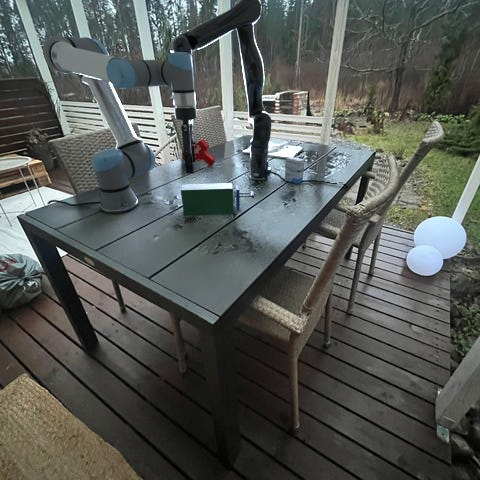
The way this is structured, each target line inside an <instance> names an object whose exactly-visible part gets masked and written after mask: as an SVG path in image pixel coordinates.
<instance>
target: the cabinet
mask: <svg viewBox="0 0 480 480" xmlns="http://www.w3.org/2000/svg"><path fill="white" fill-rule="evenodd" d="M180 195H181V196H180V197H181V205H182V211H183V216H197V215H198V216H200V215H201V216H202V215H227V214H230V215H231V214H232V215H233V214H234V187H233V183H232V182H223V183H222V182H218V183H189V184H188V183H187V184H185V183H184V184H182V185H181V188H180Z"/></svg>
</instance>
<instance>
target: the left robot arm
mask: <svg viewBox="0 0 480 480" xmlns="http://www.w3.org/2000/svg"><path fill="white" fill-rule="evenodd" d="M42 55H43V58H44V60H45V62H46V63H47V65H48V66H49V67H50V68H51V69H53V70H54V71H55V72H58V73H60V74H66V75H75V74H77V75H78V77H79V78H80V80H81V82H82V83H84V84H86V85H87V86H88V87H89V90H90V92H91V93H92V96H93V97H94V99H95V101H96V103H97V106H98V108H99V110H100V112H101V113H102V116H103V117H104V120H105V122H106V124H107V125H108V128H109V130H110V131H111V134H112V136H113V138H114V141H115V142H116V146H115V148H114V147H113V148H108V149H103V150H99V151H97V152H96V153H94V154H93V155H92V158H91V164H92V170H93V171H94V174H95V177H96V180H97V183H98V187H99V190H100V200H99V201H89V202H80V203H69V202H68V201H63V200H58V199H51V200H49V201H47V203H46V204H47V205H50V204H51V203H59V204H65V205H67V206H69V207H79V206H86V205H87V206H88V205H96V204H97V205H99V204H100V209H101V211H102V212H103V213H106V214H111V215H113V214H114V215H117V214H122V213H126V212H130V211H132V210H134V209H136V208H137V207H138V205H139V200H138V197H137V196H136V194H135V193H134V190H132V188H131V185H130V181H129V180H130V179H132V178H135V177H138V176H140V175H144V174H147V173H149V172H150V171H152V170H153V169H154V167H155V164H156V156H155V155H156V154H155V152H154V150H153V149H152V147H151V146H150V145H148V144H146V143H144V142H143V139H142V138H140V137H138V136H137V135H136V133H135V130H134V129H133V126H132V124H131V121H130V120H129V118H128V116H127V113H126V111H125V109H124V107H123V105H122V103H121V100H120V98H119V97H118V94H117V92H116V90H115V88H116V89H120V90H130V89H138V88H151V87H152V88H153V87H171V93H172V95H171V96H170V99H172V100H173V101H172V102H173V106H174V108H173V110H174V118H175V120H178V121H182V123H181V124H180V129H181V130H180V131H181V137H182V138H181V139H182V153H181V157H182V156H184V158H185V161H184V167H185V174H195V171H194V163H196V162H197V160H196V159H195V150H194V145H196V144H197V142H196V141H195V139H194V123H193V124H192V123H191V121H192V120H193V121H194V120H196V119H197V117H198V115H197V107H194V106H195V105H197V100H196V91H195V78H194V65H193V56H192V57H191V55H190V54H189V53H187V52H168V53H167V59H165V60H164V59H128V58H123V57H118V56H114V55H110V54H109V52H108V50H107V47H105V46H104V44H103V43H102V42H101V41H100V40H97V39H95V38H90V37H87V36H83V37H76V36H66V35H65V36H64V35H53V36H51V37H48V38H47V39H46V40H45V41H44V43H43V45H42Z"/></svg>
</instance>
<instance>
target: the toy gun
mask: <svg viewBox="0 0 480 480" xmlns="http://www.w3.org/2000/svg"><path fill="white" fill-rule="evenodd" d="M209 148H210V145H209V144H208V142H207V141H206V140H205V139H204V138H202V139H200V140H198V141H197V142H196V145H194V150H195V161H196V162H200V161H204V162H205V163H206V164H207V165H208V167H210V166H212V165H214V164H215V163H216V162H215V161H216V158H215V156H213V155H212V154H210V153H209V152H208V149H209ZM181 158H182V159H183V161H184V162H185V158H184V156H182V155H181Z"/></svg>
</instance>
